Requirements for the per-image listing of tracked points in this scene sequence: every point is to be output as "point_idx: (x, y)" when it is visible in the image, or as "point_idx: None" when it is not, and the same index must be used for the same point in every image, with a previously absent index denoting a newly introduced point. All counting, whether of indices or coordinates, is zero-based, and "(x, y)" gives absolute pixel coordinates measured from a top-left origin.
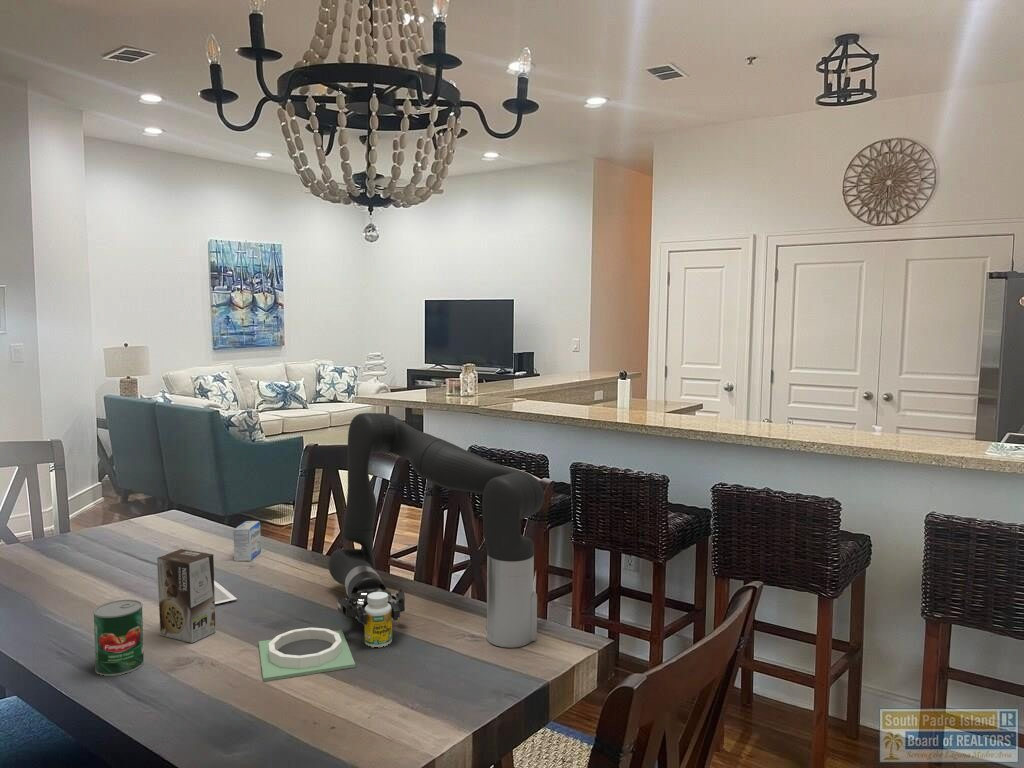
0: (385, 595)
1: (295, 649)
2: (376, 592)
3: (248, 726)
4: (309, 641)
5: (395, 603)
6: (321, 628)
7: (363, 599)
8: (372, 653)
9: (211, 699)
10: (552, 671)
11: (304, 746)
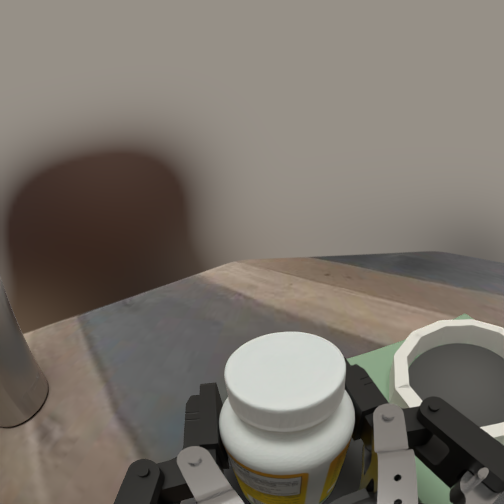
0: (240, 358)
1: (490, 385)
2: (295, 397)
3: (411, 270)
4: (488, 424)
5: (189, 450)
6: None
7: (381, 454)
8: None
9: (482, 289)
10: (58, 326)
11: (344, 261)
